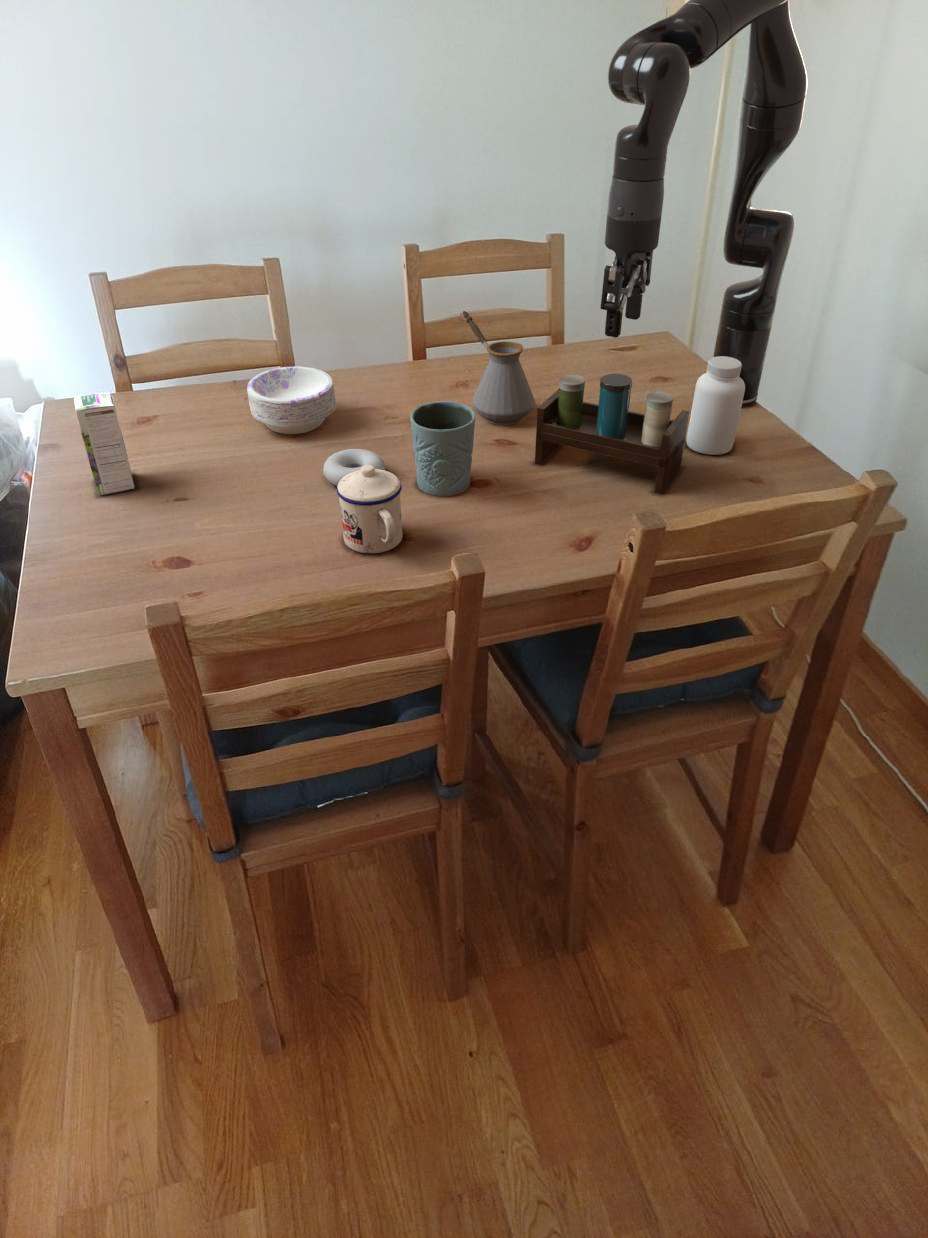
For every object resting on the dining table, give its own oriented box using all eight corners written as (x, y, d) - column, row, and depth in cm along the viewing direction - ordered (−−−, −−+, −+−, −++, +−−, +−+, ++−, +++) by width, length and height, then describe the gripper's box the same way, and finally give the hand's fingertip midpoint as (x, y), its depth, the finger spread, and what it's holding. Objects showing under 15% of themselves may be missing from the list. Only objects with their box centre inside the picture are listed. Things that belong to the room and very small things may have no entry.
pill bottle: (734, 458, 148) (751, 372, 139) (685, 454, 150) (699, 369, 140) (732, 437, 154) (748, 354, 145) (685, 433, 156) (699, 350, 147)
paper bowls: (314, 447, 152) (309, 404, 148) (237, 435, 156) (230, 393, 151) (351, 411, 164) (347, 370, 159) (278, 401, 168) (272, 361, 163)
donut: (370, 497, 139) (394, 467, 146) (368, 478, 137) (393, 449, 144) (313, 487, 141) (340, 459, 149) (311, 468, 139) (338, 440, 147)
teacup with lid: (332, 531, 131) (324, 461, 123) (389, 516, 134) (384, 447, 127) (364, 572, 122) (357, 499, 115) (423, 555, 126) (420, 482, 118)
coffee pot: (546, 421, 160) (550, 340, 151) (491, 434, 156) (492, 352, 147) (488, 380, 175) (489, 304, 166) (437, 392, 171) (435, 314, 162)
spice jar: (601, 423, 145) (607, 371, 140) (630, 429, 144) (637, 376, 138) (590, 435, 142) (595, 382, 136) (620, 442, 140) (626, 388, 135)
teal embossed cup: (445, 462, 148) (444, 395, 140) (488, 483, 142) (489, 414, 135) (400, 483, 142) (396, 414, 135) (443, 506, 136) (441, 435, 129)
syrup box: (95, 480, 144) (70, 396, 135) (132, 473, 145) (110, 390, 137) (98, 496, 139) (73, 410, 131) (137, 489, 141) (114, 404, 132)
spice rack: (558, 439, 154) (563, 364, 146) (680, 467, 146) (693, 389, 138) (534, 463, 147) (538, 386, 139) (661, 494, 139) (673, 413, 131)
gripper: (643, 226, 116) (629, 346, 126) (676, 203, 126) (661, 316, 136) (590, 220, 119) (581, 338, 129) (626, 197, 129) (616, 308, 139)
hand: (622, 326), depth 133 cm, fingers open, 8 cm apart
